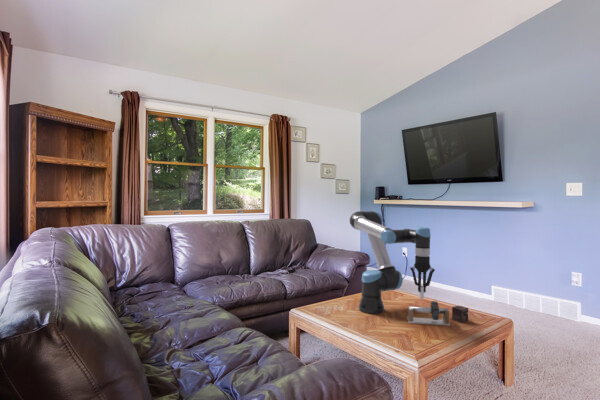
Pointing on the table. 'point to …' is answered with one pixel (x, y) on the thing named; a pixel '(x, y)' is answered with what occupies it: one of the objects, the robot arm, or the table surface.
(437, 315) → the grey hex nut
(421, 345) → the table surface
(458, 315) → the box
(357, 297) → the table surface
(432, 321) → the pipe rig
